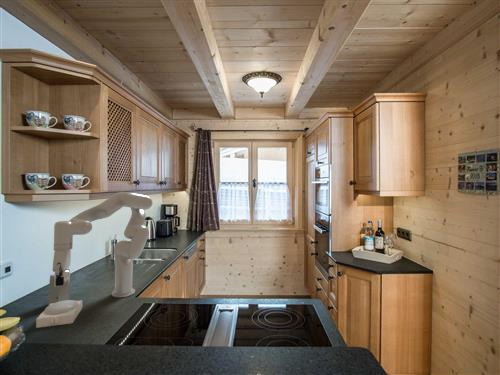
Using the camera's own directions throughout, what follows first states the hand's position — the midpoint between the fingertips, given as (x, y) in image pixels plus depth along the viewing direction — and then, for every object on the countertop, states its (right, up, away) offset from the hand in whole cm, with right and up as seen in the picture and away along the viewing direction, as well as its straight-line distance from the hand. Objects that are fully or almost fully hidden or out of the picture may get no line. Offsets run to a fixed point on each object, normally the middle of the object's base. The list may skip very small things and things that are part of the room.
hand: (62, 282), depth 127 cm
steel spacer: (0, -1, 0) cm, 1 cm away
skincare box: (-11, -17, +13) cm, 24 cm away
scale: (0, -17, -1) cm, 17 cm away
